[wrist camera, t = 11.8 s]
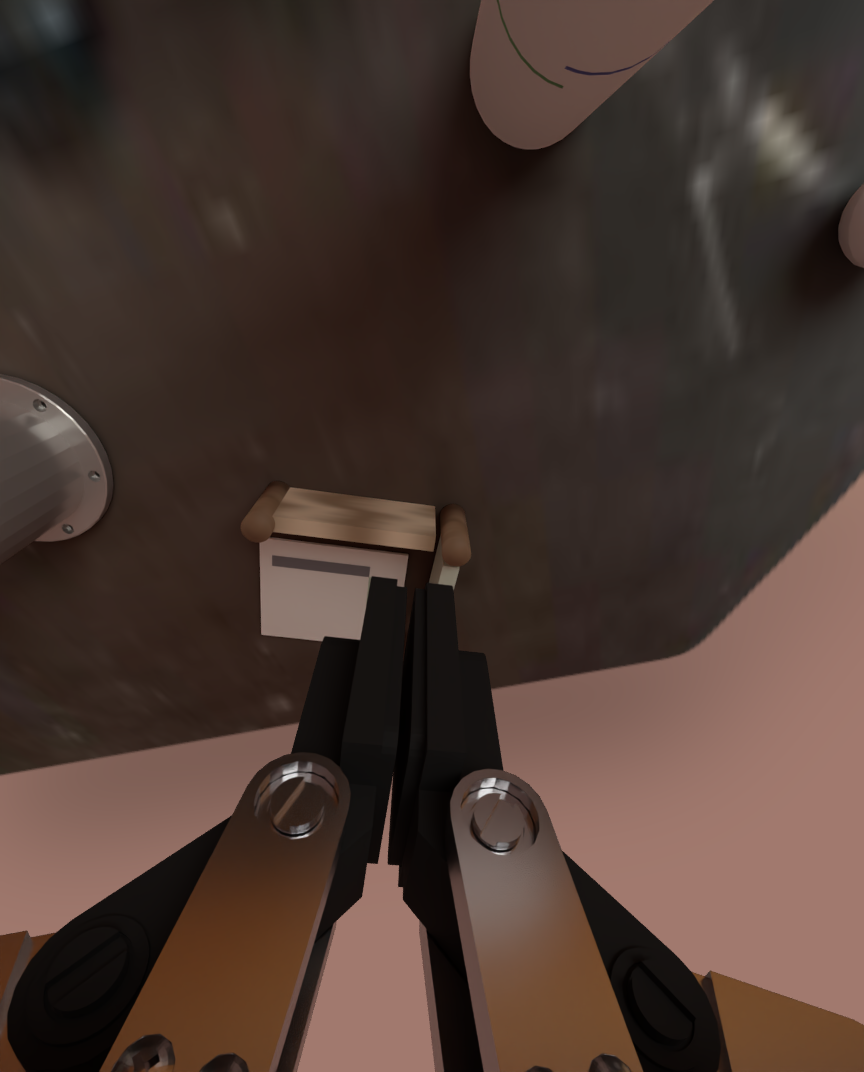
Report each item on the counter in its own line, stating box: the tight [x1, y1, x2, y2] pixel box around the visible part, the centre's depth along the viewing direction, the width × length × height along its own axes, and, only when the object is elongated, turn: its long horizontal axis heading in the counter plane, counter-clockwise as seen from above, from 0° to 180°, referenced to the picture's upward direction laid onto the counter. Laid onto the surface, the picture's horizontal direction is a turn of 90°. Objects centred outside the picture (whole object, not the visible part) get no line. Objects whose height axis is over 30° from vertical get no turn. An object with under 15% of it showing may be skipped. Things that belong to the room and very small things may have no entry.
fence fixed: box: [241, 481, 471, 567], centre depth 36 cm, size 16×2×6 cm, turn 82°
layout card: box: [260, 537, 408, 641], centre depth 43 cm, size 12×10×1 cm
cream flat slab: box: [429, 535, 459, 590], centre depth 40 cm, size 12×2×5 cm, turn 168°
